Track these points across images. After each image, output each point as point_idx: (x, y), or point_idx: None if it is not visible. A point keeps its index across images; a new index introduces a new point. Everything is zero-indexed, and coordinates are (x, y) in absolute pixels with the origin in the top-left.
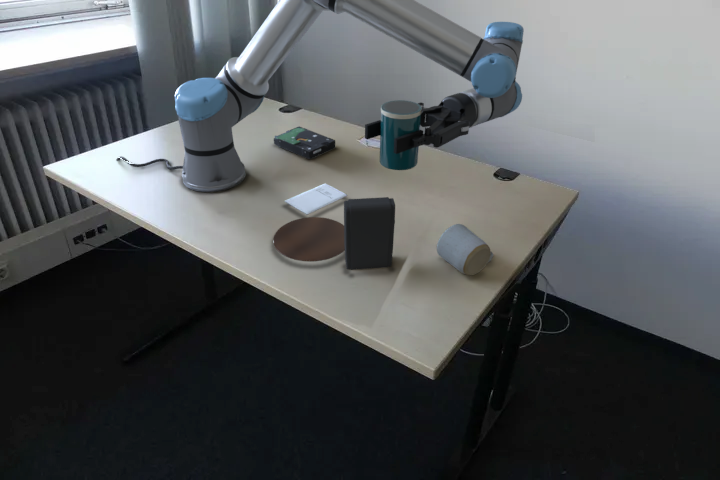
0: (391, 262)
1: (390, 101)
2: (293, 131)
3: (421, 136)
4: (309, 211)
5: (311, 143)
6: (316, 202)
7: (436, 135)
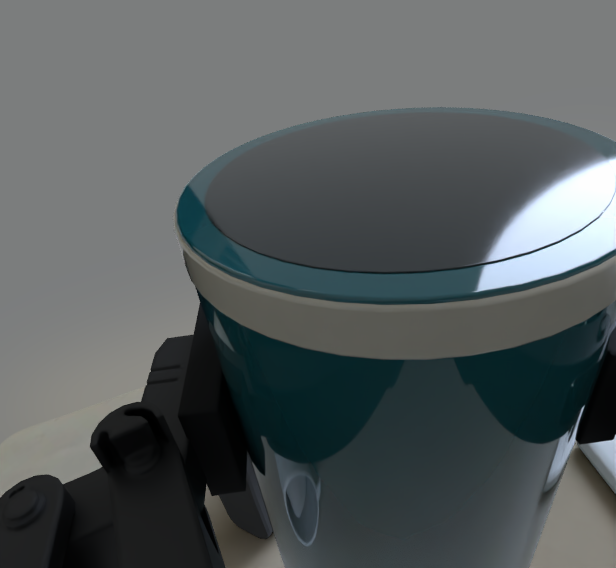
0: (224, 506)
1: (613, 148)
2: None
3: (169, 405)
4: (596, 444)
5: None
6: None
7: (26, 481)
